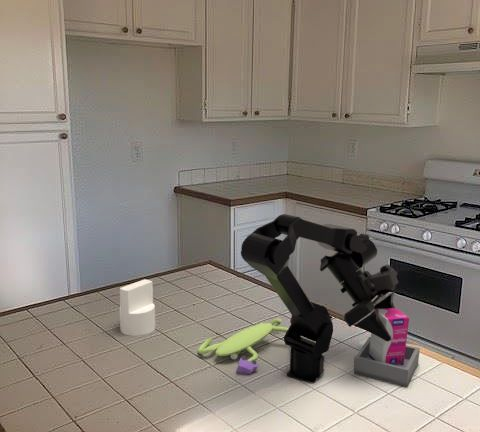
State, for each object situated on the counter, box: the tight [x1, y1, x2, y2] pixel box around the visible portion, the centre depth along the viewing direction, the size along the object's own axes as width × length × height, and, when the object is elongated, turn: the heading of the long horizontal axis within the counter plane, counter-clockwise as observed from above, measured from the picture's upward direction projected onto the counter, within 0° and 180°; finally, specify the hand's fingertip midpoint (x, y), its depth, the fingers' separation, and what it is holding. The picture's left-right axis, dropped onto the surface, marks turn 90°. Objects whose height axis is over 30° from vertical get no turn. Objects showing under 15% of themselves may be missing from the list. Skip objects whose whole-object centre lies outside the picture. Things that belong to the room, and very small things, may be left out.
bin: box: [352, 336, 421, 388], centre depth 121 cm, size 12×12×4 cm
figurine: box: [197, 318, 315, 375], centre depth 129 cm, size 18×27×6 cm
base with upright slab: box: [119, 278, 156, 337], centre depth 140 cm, size 9×9×12 cm
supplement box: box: [369, 307, 410, 365], centre depth 120 cm, size 6×6×12 cm
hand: (395, 333), depth 119 cm, fingers closed on supplement box, 8 cm apart
